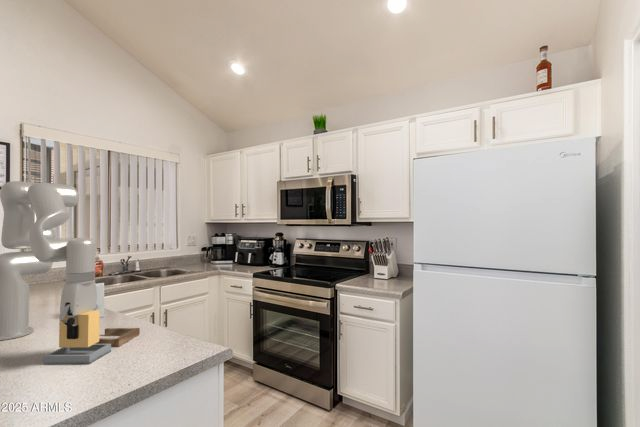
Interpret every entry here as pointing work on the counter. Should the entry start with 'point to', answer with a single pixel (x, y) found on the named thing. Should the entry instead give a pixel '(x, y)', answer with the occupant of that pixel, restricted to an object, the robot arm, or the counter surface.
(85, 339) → the yellow block
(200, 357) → the counter surface
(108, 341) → the walnut bay
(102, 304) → the skincare box
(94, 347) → the grey tray
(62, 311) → the robot arm
